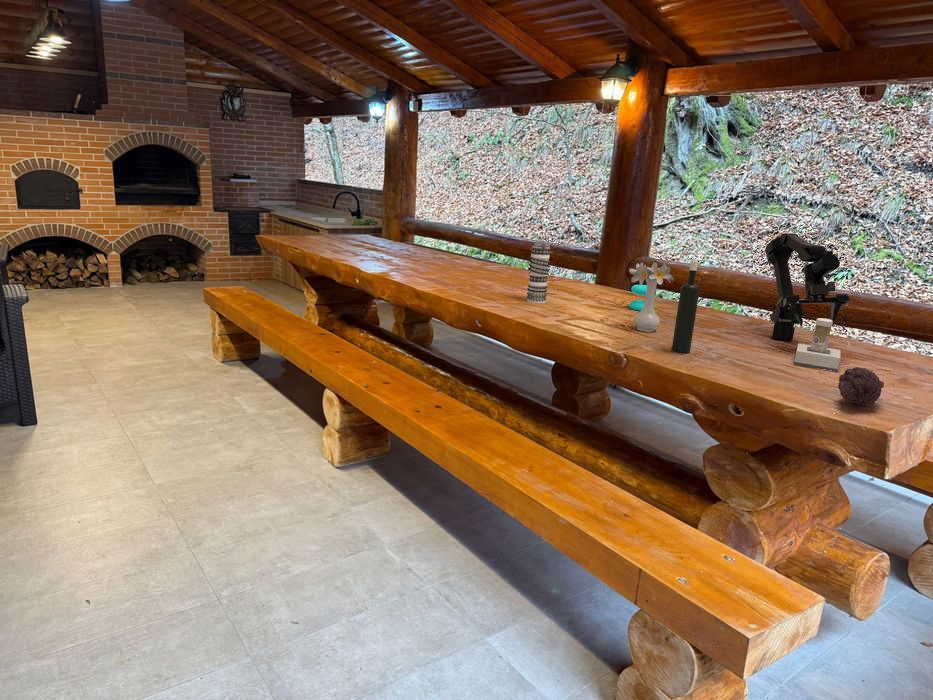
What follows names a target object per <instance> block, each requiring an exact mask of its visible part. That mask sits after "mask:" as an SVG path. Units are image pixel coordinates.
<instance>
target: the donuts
mask: <svg viewBox="0 0 933 700" xmlns="http://www.w3.org/2000/svg"><path fill="white" fill-rule="evenodd" d="M656 291H657V289H655V293H656ZM631 292H632V293H633V294H635V295H637V296H641V297H642V296H645V297H646V292H647V284H642V285H640V284H634V285H632V286H631ZM644 303H645V299H644V300H643V299H634V300H631V302H630V303H629V304H628V305H629V308H630V309H631V310H633V311H637V312H640V311H641V310H642V308H643V306H644Z"/></svg>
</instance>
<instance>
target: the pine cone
mask: <svg viewBox="0 0 933 700" xmlns="http://www.w3.org/2000/svg"><path fill="white" fill-rule="evenodd" d="M837 385H838V386H837V389H838V390H839V394H840V396H841V398H842V399H843V400H845V401H847V402H849V403H852V404H856V405H858V406H865V407H866V406H870V405H874V404H875V403H876V402H877V401H878V400H879V398H880V397H881V395H882V391H883V390H882V389H884V387H885V386H884V385H885V383H884V380H880V377H879V376H878V375H877V374H876V373H875V372H874V371H872V370H869V369H868V368H866V367H858V366H855V367H853V368H847V369H845V371H844V373H843V374H839V377H838V384H837Z"/></svg>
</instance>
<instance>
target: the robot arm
mask: <svg viewBox="0 0 933 700" xmlns="http://www.w3.org/2000/svg"><path fill="white" fill-rule="evenodd" d="M794 252H796V253H797V258H798V259H799V260H800V261H801V262H803V263H805V262H806V263H808V264H805V265H804V266H803V267H802V269H801V270H800V271H801V272H802V273H804V275H803V276H804V290H805V293H804V294H805V297H800V295H799V294H794V289H793V283H792V278H791V272H790V267H789V260H790V258H791V257H792V253H794ZM764 254H765V255H766V258H767V261H768V262H769V263H770V264H771V265H772V266H773V270H774V271H773V272H774V275H775V276H774V277H775V282H776V288H777V293H778V301H777V302H776V305H775V309H774V310H773V311H772V312H771V313H770V314H769V315H770V316H769V317H770V318H769V319H770V321H771V322H772V323H773V324H774V325H773V329H772V334H771V337H770V339H771V340H775V341H776V340H777V341H784V342H791V341H792V340H794V335H795V330H796V327H795V326H794V325H799V326H800V327H803V325H804V324H803V321H804V319H803V316H804V309H803V308H804V306H803V305H804V304H805V305H806V304H807V305H809V304H810V305H811V304H818V305H819V304H831V305H832V306H831V308H830V320H832V321H833V324H832V327H834V325H835V323H836V319H837V317H838V313H839V310H842V309H843V307H846V306H847V305H848V304H849V303H850V302H851V301H850V300H851V299H850V295H849V294H848V293H836V294H834V295H833V297H827V296H828V295H830V293H829V292H836V282H835V281H827V284H826V281H825V276H827V275H830V274H831V273H833V272H834V271H836V270H837V269H838V268H840V265H841V262H840V261H841V260H839V258H838V256H837V255H835V254H834V252H833V250H827V249H826V247H825V246H824V245H822V244H821V245H820V244H814V243H810V242H809V241H807V240H805V239H804V238H802V237H800V236H799V235H798V234H796V233H789V232H784V233H781V234H780V236H778V237H776V238H774V239H772V240H771V241H769V242H768V244H767V245H766V246H765V247H764Z"/></svg>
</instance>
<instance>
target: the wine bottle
mask: <svg viewBox="0 0 933 700" xmlns="http://www.w3.org/2000/svg"><path fill="white" fill-rule="evenodd" d="M698 262H699V259H696V258H691V259H690V264H689V273H688V279H687V283H684V284H682V285H681V287H680V289H679V297H678V303H677V311H676V317H675V322H674V323H675V324H674V330H673V337H672V344H671V352H674V353H677V354H683V355H685V354H690V353H691V348H692V347H691V346H692V342H693V336H694V330H695V321H696V316H697V310H698V304H699V296H700V287H699V286H698V285H697V284H696V283H695V282H696V274H697V270H698Z"/></svg>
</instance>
